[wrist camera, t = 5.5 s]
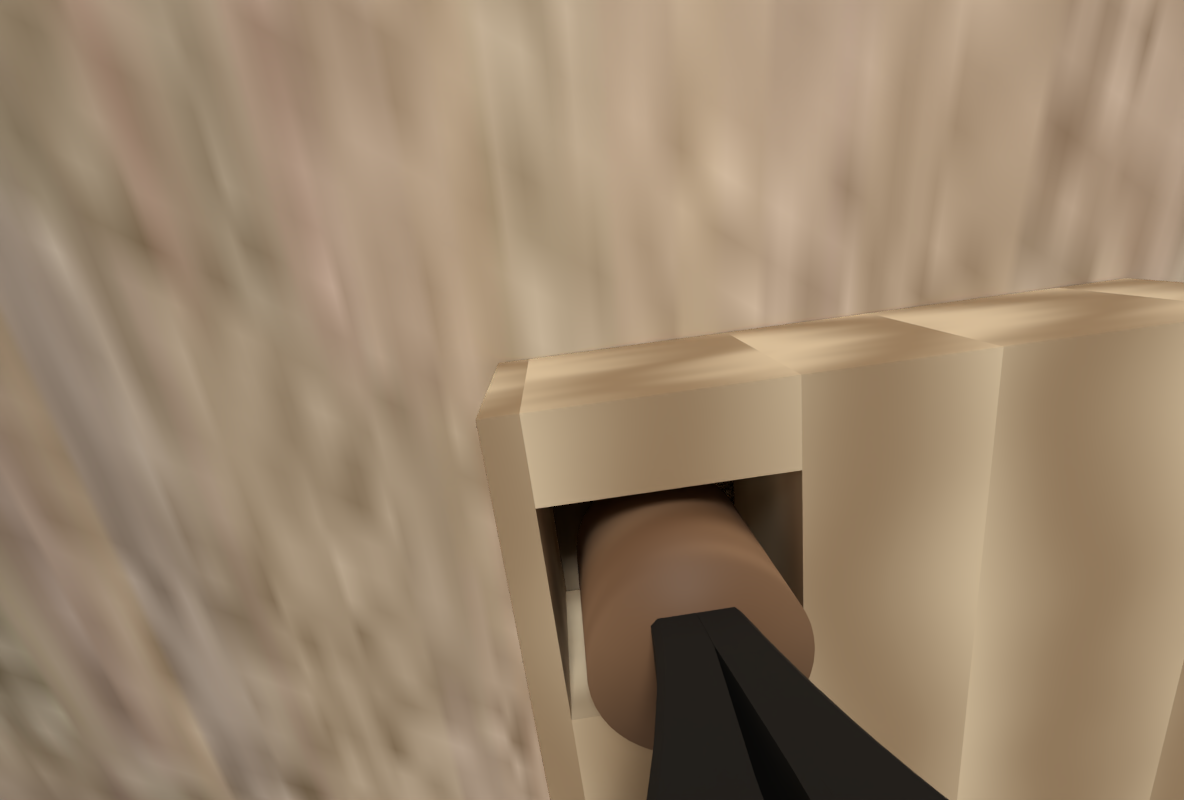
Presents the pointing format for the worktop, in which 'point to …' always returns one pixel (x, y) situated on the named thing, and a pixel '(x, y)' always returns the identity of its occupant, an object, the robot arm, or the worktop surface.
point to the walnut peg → (671, 591)
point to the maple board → (896, 526)
